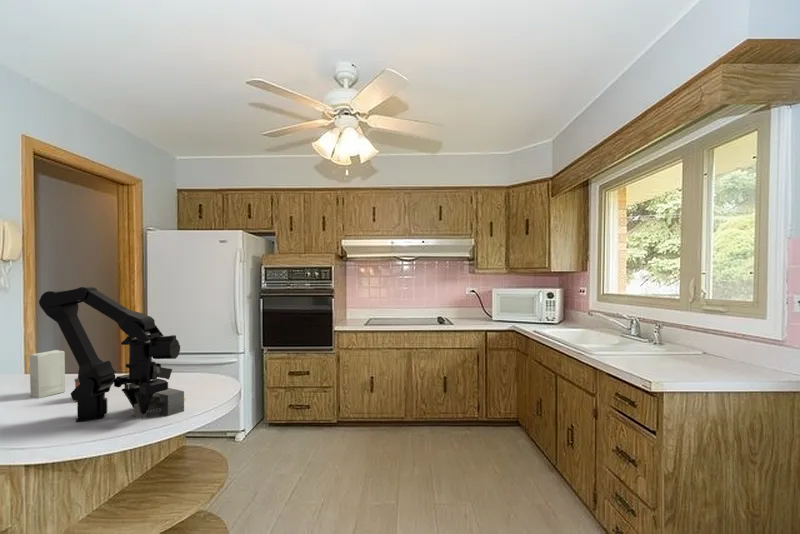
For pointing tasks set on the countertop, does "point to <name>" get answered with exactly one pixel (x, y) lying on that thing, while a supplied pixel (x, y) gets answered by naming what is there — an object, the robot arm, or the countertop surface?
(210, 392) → the countertop surface
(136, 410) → the plug
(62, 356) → the skincare box
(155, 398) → the gray bridge-shaped block
